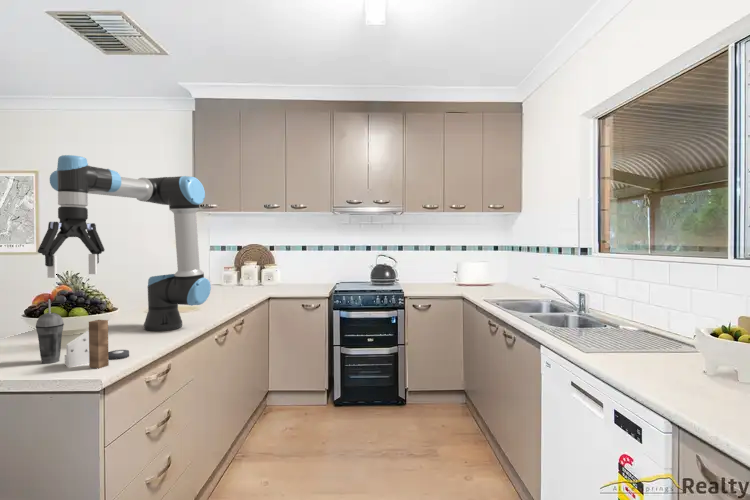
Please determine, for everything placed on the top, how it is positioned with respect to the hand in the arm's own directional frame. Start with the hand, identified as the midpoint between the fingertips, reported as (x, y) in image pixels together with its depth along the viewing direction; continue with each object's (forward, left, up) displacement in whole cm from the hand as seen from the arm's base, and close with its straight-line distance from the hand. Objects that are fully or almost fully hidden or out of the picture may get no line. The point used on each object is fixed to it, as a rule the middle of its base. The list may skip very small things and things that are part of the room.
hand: (73, 275), depth 135 cm
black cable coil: (-10, +6, -28) cm, 30 cm away
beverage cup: (0, -10, -28) cm, 29 cm away
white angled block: (-1, 0, -28) cm, 28 cm away
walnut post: (0, +9, -28) cm, 29 cm away
